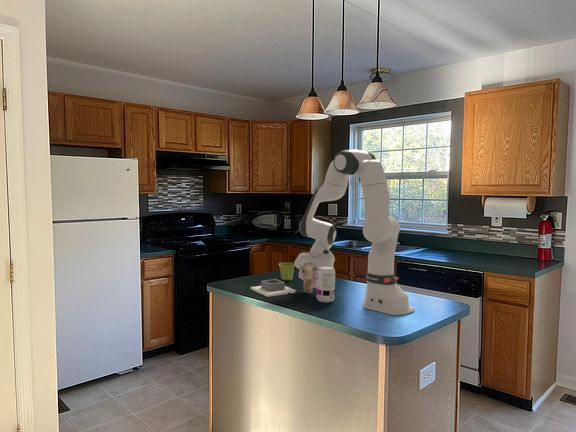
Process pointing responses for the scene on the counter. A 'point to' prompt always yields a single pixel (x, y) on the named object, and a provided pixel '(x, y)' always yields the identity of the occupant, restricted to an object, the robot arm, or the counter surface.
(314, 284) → the lily
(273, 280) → the docking plate
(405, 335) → the counter surface
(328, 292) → the supplement can
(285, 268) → the plant pot
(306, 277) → the beech peg
